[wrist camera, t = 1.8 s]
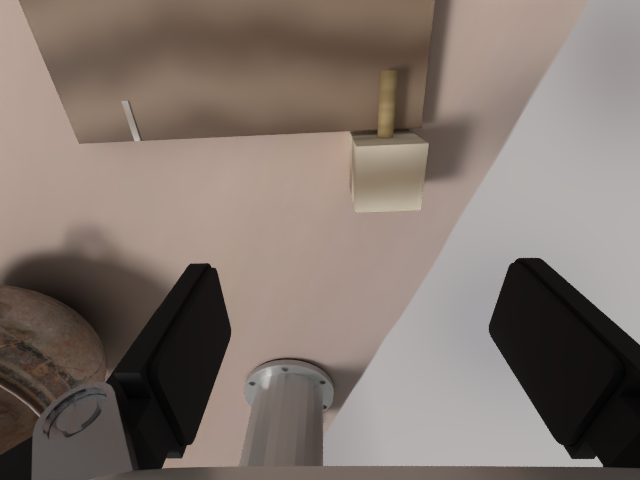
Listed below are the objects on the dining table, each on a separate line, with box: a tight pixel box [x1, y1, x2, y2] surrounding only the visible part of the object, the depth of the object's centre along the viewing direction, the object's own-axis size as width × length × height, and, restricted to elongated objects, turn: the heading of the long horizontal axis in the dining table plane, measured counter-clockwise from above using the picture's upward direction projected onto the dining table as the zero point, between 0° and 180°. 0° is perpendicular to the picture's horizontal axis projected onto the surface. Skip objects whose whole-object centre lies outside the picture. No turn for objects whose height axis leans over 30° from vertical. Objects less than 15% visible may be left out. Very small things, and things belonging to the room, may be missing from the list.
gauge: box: [350, 70, 429, 213], centre depth 24 cm, size 10×5×6 cm, turn 3°
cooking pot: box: [0, 285, 107, 455], centre depth 32 cm, size 25×19×12 cm
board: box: [19, 0, 435, 144], centre depth 22 cm, size 12×28×2 cm, turn 93°
